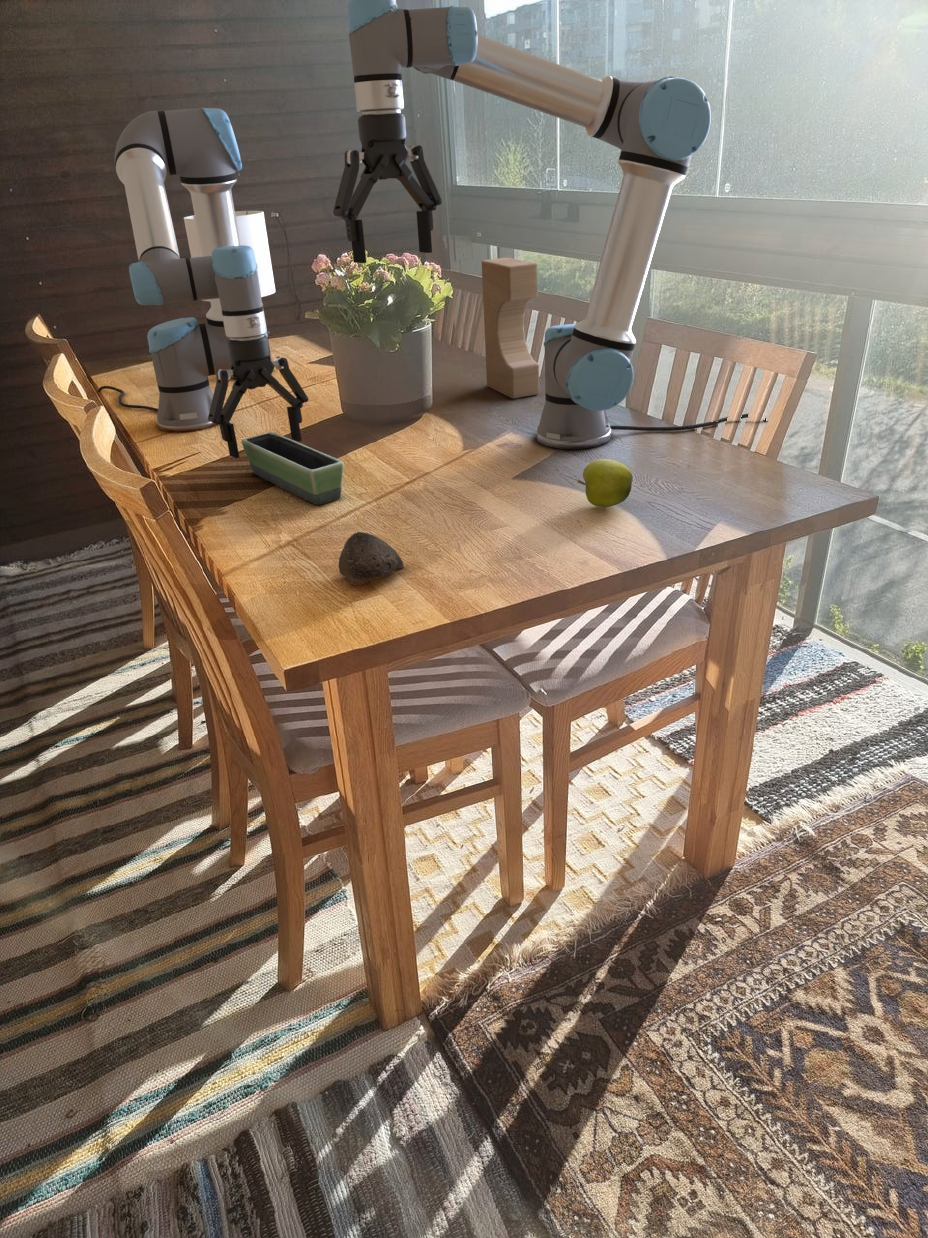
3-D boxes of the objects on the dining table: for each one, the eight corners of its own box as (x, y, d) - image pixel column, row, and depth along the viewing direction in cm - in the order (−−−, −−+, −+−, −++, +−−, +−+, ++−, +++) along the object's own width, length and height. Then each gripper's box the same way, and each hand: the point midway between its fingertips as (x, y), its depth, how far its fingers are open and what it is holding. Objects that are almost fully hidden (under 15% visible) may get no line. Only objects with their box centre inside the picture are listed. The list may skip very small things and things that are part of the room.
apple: (575, 498, 154) (576, 454, 151) (628, 496, 154) (629, 451, 150) (579, 515, 148) (579, 469, 144) (634, 513, 147) (636, 467, 143)
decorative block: (540, 394, 215) (538, 263, 201) (512, 399, 213) (508, 266, 198) (512, 381, 227) (509, 256, 213) (486, 386, 225) (480, 260, 210)
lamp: (301, 366, 256) (278, 209, 236) (258, 384, 240) (230, 217, 220) (244, 363, 264) (217, 211, 244) (199, 380, 248) (166, 219, 228)
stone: (370, 582, 138) (319, 551, 133) (405, 543, 136) (354, 511, 130) (380, 619, 131) (327, 588, 125) (417, 579, 128) (364, 545, 123)
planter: (245, 474, 176) (239, 439, 173) (277, 465, 180) (272, 430, 177) (315, 510, 157) (310, 471, 154) (350, 499, 161) (345, 461, 157)
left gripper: (192, 351, 154) (215, 467, 164) (315, 327, 167) (330, 437, 177) (175, 346, 159) (198, 459, 169) (296, 323, 172) (311, 430, 182)
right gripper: (325, 115, 130) (343, 268, 141) (457, 108, 143) (464, 249, 154) (300, 117, 135) (319, 265, 146) (429, 111, 149) (438, 247, 159)
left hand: (266, 448), depth 173 cm, fingers open, 13 cm apart
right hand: (393, 257), depth 150 cm, fingers open, 13 cm apart
